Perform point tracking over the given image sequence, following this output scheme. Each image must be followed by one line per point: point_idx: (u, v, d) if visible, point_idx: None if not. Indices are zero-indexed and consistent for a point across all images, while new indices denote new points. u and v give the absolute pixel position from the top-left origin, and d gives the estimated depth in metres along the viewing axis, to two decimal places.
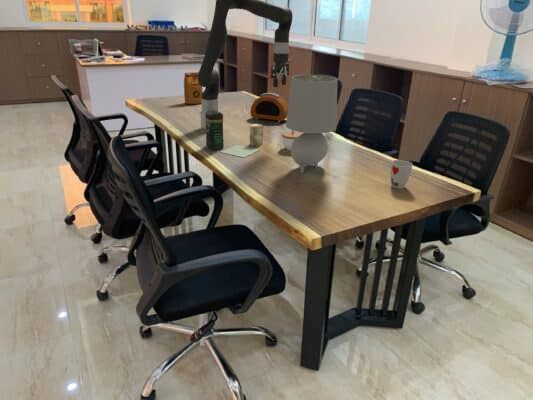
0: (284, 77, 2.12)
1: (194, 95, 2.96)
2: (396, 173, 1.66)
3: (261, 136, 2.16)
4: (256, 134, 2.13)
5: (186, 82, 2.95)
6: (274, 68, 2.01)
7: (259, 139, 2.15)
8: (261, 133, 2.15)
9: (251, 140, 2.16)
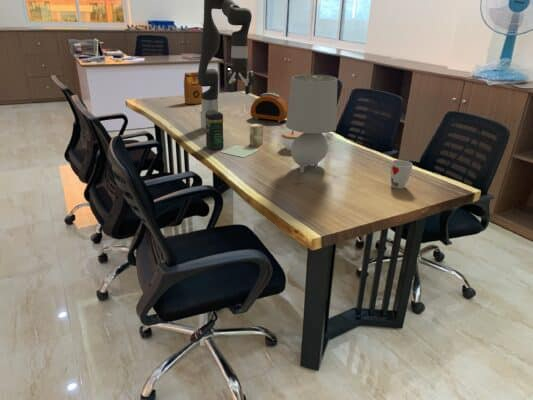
0: (233, 84, 1.95)
1: (194, 95, 2.96)
2: (396, 173, 1.66)
3: (261, 136, 2.16)
4: (256, 134, 2.13)
5: (186, 82, 2.95)
6: (252, 74, 1.88)
7: (259, 139, 2.15)
8: (261, 133, 2.15)
9: (251, 140, 2.16)
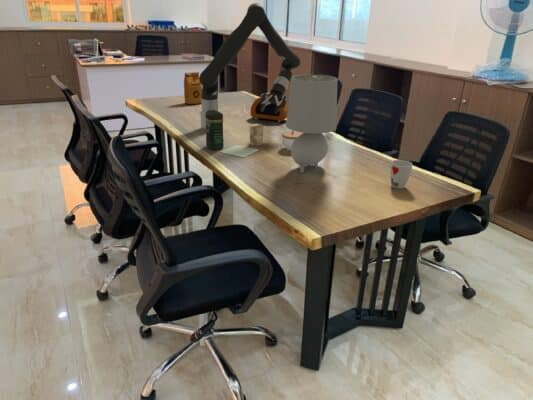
0: (264, 105, 2.24)
1: (194, 95, 2.96)
2: (396, 173, 1.66)
3: (261, 136, 2.16)
4: (256, 134, 2.13)
5: (186, 82, 2.95)
6: (286, 100, 2.21)
7: (259, 139, 2.15)
8: (261, 133, 2.15)
9: (251, 140, 2.16)
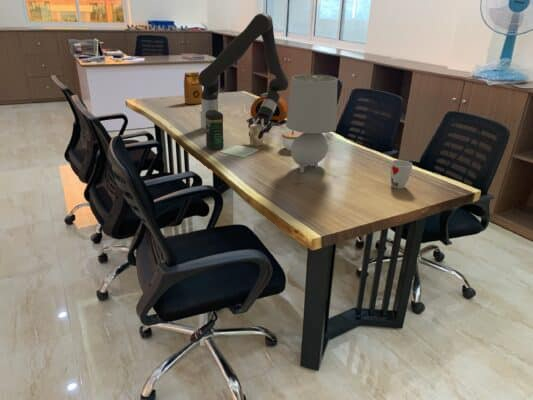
0: None
1: (194, 95, 2.96)
2: (396, 173, 1.66)
3: None
4: (256, 134, 2.13)
5: (186, 82, 2.95)
6: (272, 125, 2.15)
7: (259, 139, 2.15)
8: None
9: (251, 140, 2.16)
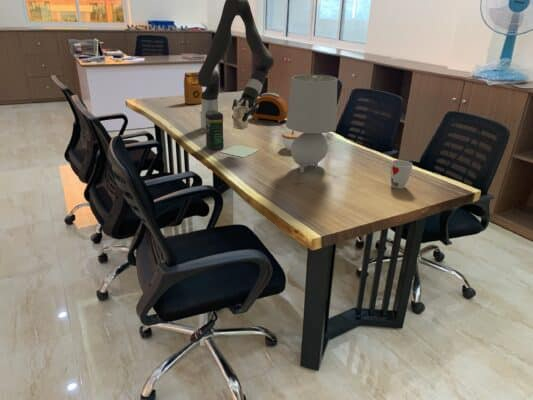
0: None
1: (194, 95, 2.96)
2: (396, 173, 1.66)
3: None
4: (240, 117, 1.97)
5: (186, 82, 2.95)
6: (257, 107, 1.98)
7: (243, 122, 1.99)
8: None
9: (235, 123, 1.99)
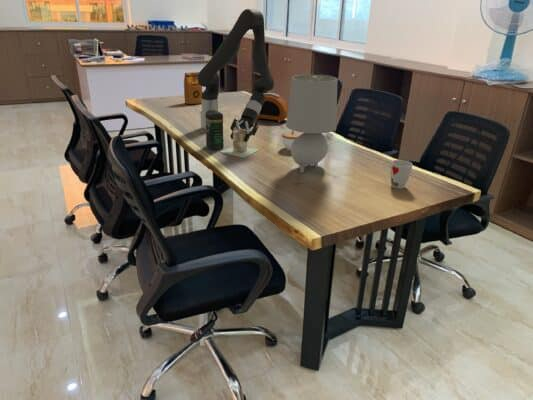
0: None
1: (194, 95, 2.96)
2: (396, 173, 1.66)
3: (245, 143, 2.04)
4: (240, 140, 2.01)
5: (186, 82, 2.95)
6: (257, 126, 2.02)
7: (243, 145, 2.03)
8: None
9: (234, 147, 2.04)
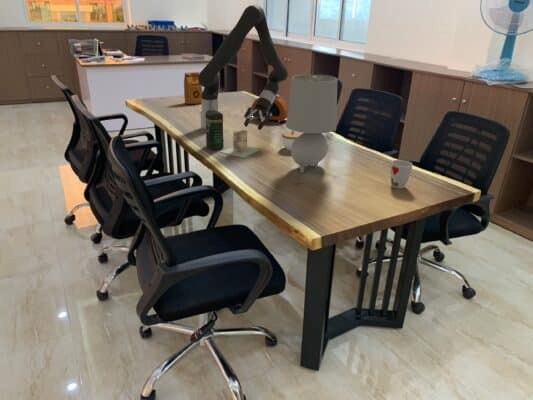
0: (249, 120, 2.15)
1: (194, 95, 2.96)
2: (396, 173, 1.66)
3: (245, 143, 2.04)
4: (240, 140, 2.01)
5: (186, 82, 2.95)
6: (271, 115, 2.11)
7: (243, 145, 2.03)
8: (245, 139, 2.04)
9: (234, 147, 2.04)
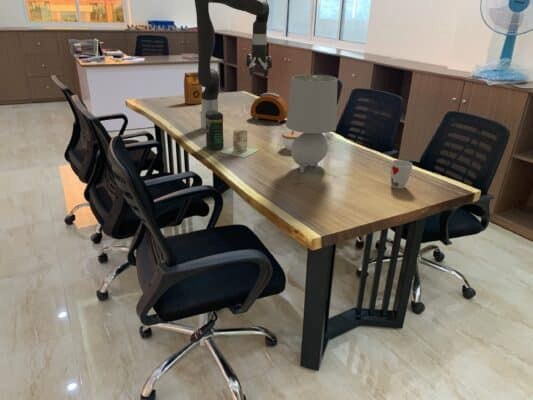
0: (252, 68, 2.20)
1: (194, 95, 2.96)
2: (396, 173, 1.66)
3: (245, 143, 2.04)
4: (240, 140, 2.01)
5: (186, 82, 2.95)
6: (271, 58, 2.13)
7: (243, 145, 2.03)
8: (245, 139, 2.04)
9: (234, 147, 2.04)
